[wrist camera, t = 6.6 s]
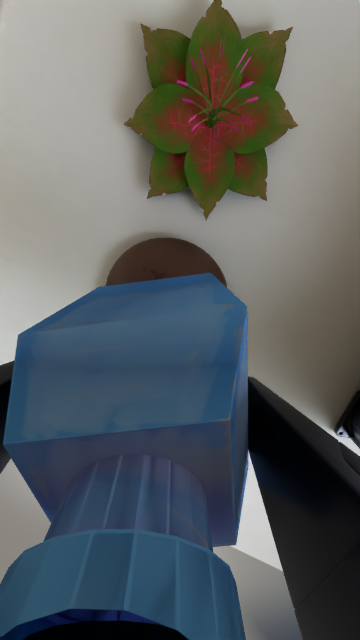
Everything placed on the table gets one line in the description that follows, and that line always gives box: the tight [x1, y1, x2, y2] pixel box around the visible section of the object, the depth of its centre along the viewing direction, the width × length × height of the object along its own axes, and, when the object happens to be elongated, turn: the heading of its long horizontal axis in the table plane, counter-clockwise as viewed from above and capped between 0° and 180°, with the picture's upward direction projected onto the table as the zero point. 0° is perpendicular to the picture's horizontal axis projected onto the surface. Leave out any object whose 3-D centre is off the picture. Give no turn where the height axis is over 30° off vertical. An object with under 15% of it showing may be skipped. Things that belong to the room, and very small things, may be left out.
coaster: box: [106, 238, 227, 287], centre depth 19 cm, size 11×11×1 cm
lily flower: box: [124, 0, 298, 220], centre depth 12 cm, size 12×12×5 cm
